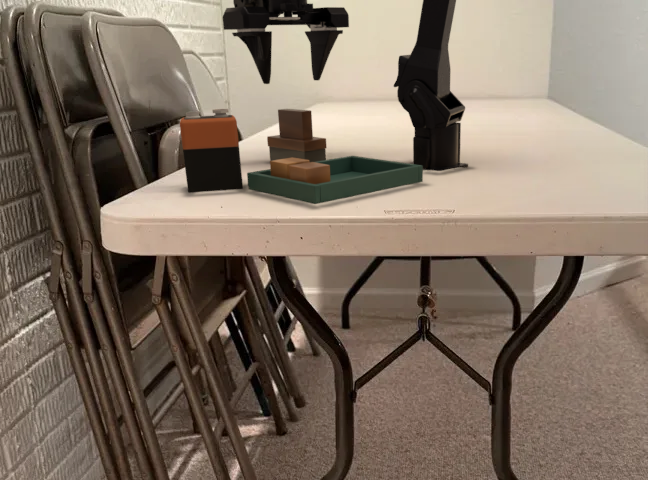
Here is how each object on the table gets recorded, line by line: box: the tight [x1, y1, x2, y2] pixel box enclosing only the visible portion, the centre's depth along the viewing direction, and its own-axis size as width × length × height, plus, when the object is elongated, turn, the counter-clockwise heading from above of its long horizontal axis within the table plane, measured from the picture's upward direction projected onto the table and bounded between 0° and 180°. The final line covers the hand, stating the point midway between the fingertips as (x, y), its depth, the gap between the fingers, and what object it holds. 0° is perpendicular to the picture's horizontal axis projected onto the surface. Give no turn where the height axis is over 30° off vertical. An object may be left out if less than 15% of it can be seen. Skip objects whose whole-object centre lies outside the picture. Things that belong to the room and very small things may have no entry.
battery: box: [179, 108, 244, 193], centre depth 90 cm, size 4×7×10 cm, turn 103°
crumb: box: [289, 162, 330, 184], centre depth 85 cm, size 4×4×4 cm
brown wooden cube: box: [269, 157, 309, 179], centre depth 89 cm, size 4×4×4 cm
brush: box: [266, 108, 327, 162], centre depth 109 cm, size 4×9×8 cm, turn 43°
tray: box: [246, 155, 424, 205], centre depth 91 cm, size 18×14×2 cm
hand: (292, 82), depth 106 cm, fingers open, 9 cm apart
